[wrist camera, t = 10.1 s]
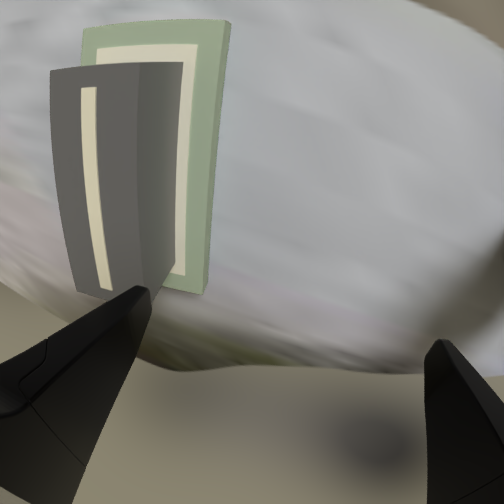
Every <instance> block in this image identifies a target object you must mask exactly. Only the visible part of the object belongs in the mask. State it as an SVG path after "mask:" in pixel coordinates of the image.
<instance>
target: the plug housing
mask: <svg viewBox="0 0 504 504" xmlns="http://www.w3.org/2000/svg"><path fill="white" fill-rule="evenodd" d="M183 63H184V62H124V63H108V64H96V65H87V66H78V67H71V68H64V69H57V70H51V71H50V122H51V140H52V153H53V164H54V173H55V181H56V189H57V196H58V203H59V210H60V216H61V221H62V227H63V232H64V238H65V243H66V247H67V252H68V257H69V261H70V265H71V270H72V274H73V278H74V282H75V286H76V290H77V291H78V292H81V293H84V294H88V295H91V296H94V297H98V298H101V299H105V300H108V301H109V300H111V299H113V298H114V297H116V296H118V295H120V294H121V293H123V292H125V291H126V290H128V289H130V288H132V287H133V286H135V285H140V286H144V287H148V288H149V290H150V296H151V303H152V301H153V300H154V298H155V296H156V295H157V293H158V291H159V289H160V288H161V286H162V284H163V283H164V281H165V279H166V278H167V276H168V274H169V272H170V271H171V269H172V267H173V266H174V264H175V203H176V166H177V143H178V125H179V110H180V96H181V84H182V73H183Z"/></svg>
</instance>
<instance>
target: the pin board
mask: <svg viewBox="0 0 504 504" xmlns="http://www.w3.org/2000/svg"><path fill="white" fill-rule="evenodd" d="M230 31H231V23H229V22H228V21H226V20H210V19H177V20H154V21H140V22H129V23H120V24H112V25H105V26H98V27H92V28H86V29H83V39H82V52H81V66H87V65H96V64H108V63H124V62H184V63H183V73H182V84H181V96H180V110H179V125H178V143H177V166H176V203H175V264H174V266H173V267H172V269H171V271H170V272H169V274H168V276H167V278H166V279H165V281H164V283H163V284H162V286H164V287H169V288H173V289H177V290H182V291H186V292H191V293H196V294H200V295H203V292H204V290H205V288H206V285H207V283H208V267H209V250H210V234H211V219H212V205H213V192H214V180H215V168H216V157H217V146H218V135H219V125H220V115H221V105H222V96H223V87H224V78H225V70H226V62H227V54H228V46H229V38H230Z"/></svg>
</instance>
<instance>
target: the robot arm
mask: <svg viewBox="0 0 504 504" xmlns="http://www.w3.org/2000/svg"><path fill="white" fill-rule="evenodd" d="M151 311H152V305H151V296H150V290H149V288H148V287H144V286H140V285H135V286H133V287H132V288H130V289H128V290H126V291H125V292H123V293H121V294H120V295H118V296H116V297H114V298H113V299H111V300H109V301H108V302H106V303H104V304H103V305H101V306H99V307H97V308H96V309H94V310H92V311H91V312H89V313H87V314H86V315H84V316H82V317H81V318H79V319H77V320H76V321H74V322H72V323H71V324H69V325H67V326H66V327H64V328H62V329H61V330H59V331H58V332H56V333H54V334H53V335H51V336H49V337H48V339H44V340H43V341H41V342H39V343H38V344H36V345H35V346H33V347H31V348H29V349H28V350H26V351H24V352H22V353H20V354H18V355H17V356H15V357H13V358H11V359H9V360H7V361H5V362H3V363H1V364H0V504H72V502H73V499H74V497H75V494H76V492H77V489H78V487H79V484H80V482H81V479H82V477H83V474H84V472H85V469H86V466H87V464H88V462H89V459H90V457H91V455H92V452H93V450H94V448H95V445H96V443H97V440H98V438H99V436H100V433H101V431H102V429H103V427H104V425H105V422H106V420H107V418H108V416H109V413H110V411H111V409H112V407H113V404H114V402H115V400H116V398H117V396H118V393H119V391H120V389H121V387H122V385H123V383H124V381H125V379H126V377H127V374H128V372H129V370H130V368H131V366H132V364H133V362H134V359H135V357H136V355H137V352H138V350H139V347H140V344H141V341H142V338H143V335H144V332H145V329H146V327H147V324H148V321H149V318H150V316H151ZM424 377H425V378H424V382H425V383H424V385H425V386H424V390H425V391H424V392H425V393H424V395H425V396H424V403H425V418H426V435H427V468H428V470H427V473H428V474H427V476H428V477H427V478H428V479H427V504H504V403H503V402H502V401H501V399H500V398H499V397H498V396H497V395H496V393H495V392H494V391H493V390H492V389H491V387H490V386H489V385H488V384H487V382H486V381H485V380H484V379H483V378H482V377H481V375H480V374H479V373H478V372H477V371H476V370H475V369H474V367H473V366H472V365H471V364H470V363H469V362H468V361H467V359H466V358H465V357H464V356H463V355H462V354H461V353H460V352H459V350H458V349H457V348H456V347H455V346H454V345H453V344H452V343H451V342H450V341H449V340H446V339H438V340H436V341H435V343H434V344H433V346H432V347H431V348H430V350H429V351H428V353H427V354H426V356H425V359H424Z"/></svg>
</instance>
